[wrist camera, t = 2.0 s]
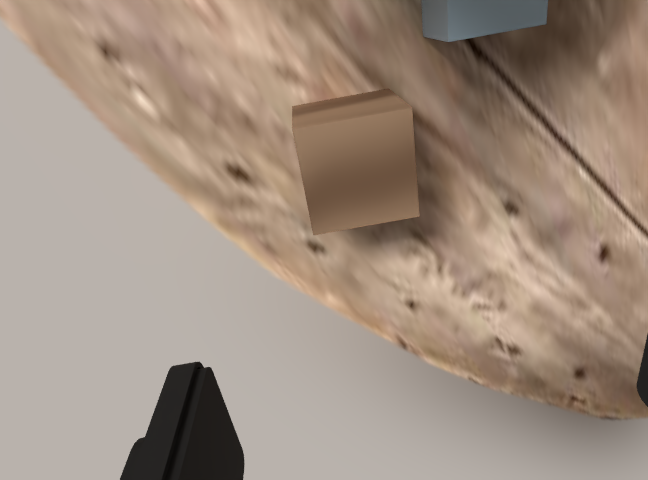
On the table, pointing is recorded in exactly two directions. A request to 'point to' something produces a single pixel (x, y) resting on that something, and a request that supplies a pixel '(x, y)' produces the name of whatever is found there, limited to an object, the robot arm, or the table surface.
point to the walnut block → (357, 160)
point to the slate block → (479, 17)
